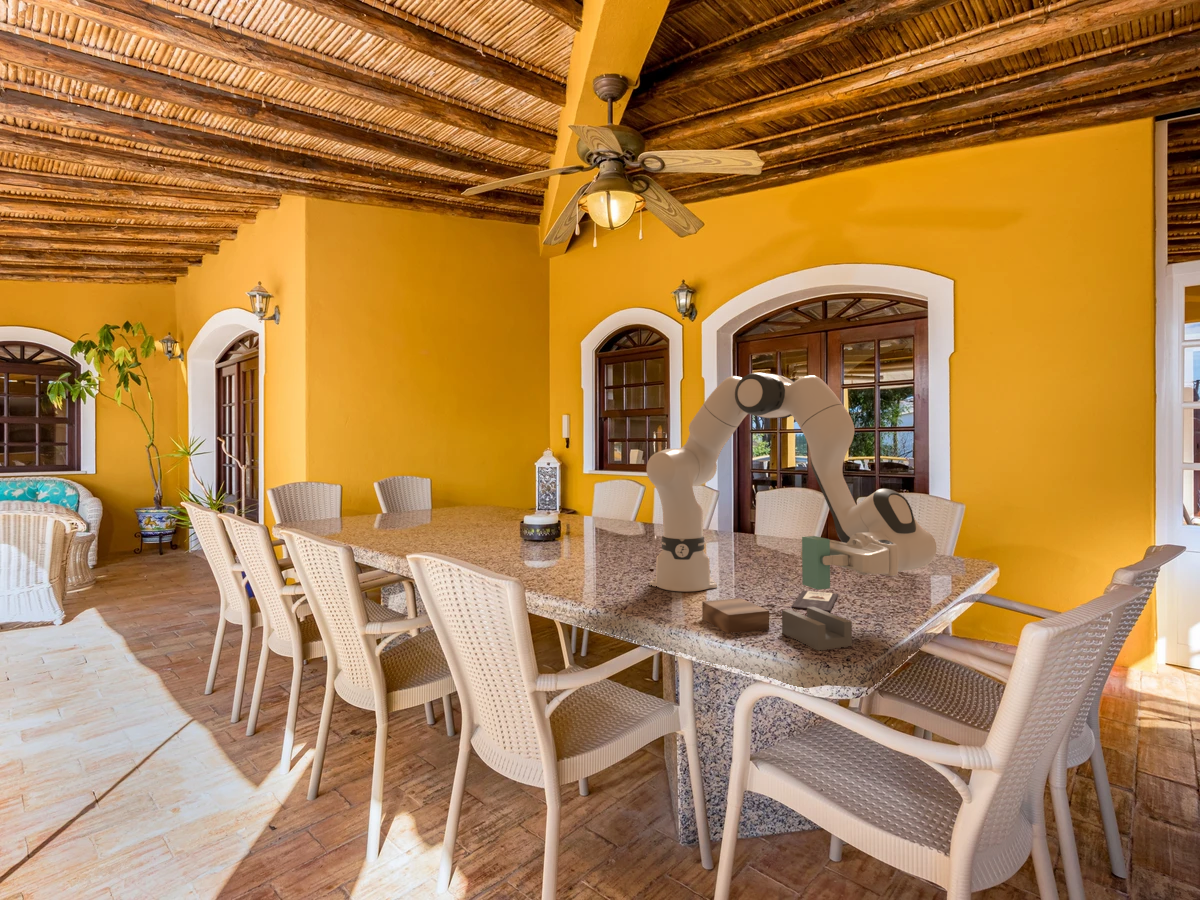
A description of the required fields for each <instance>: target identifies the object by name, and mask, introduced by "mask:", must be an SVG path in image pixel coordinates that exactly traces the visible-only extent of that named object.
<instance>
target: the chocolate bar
mask: <svg viewBox="0 0 1200 900" xmlns="http://www.w3.org/2000/svg"><path fill="white" fill-rule="evenodd" d="M838 597H839V593H831V592H822V591H821V592H820V591H811V590H802V591H801V592H800V594H799V595H798V596H797V598H796V599H795V601H794V602H793V604H791V607H790V609H791V608H794V609H793V610H800V609H803V610H802V611H807V607H816V608H819V609H821V610H824V611H826V612H830V613H831V612H832V610H833V608H834V606H833V605H835V604H834V603H836V602H835V601H837V600H836V599H838Z"/></svg>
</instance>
